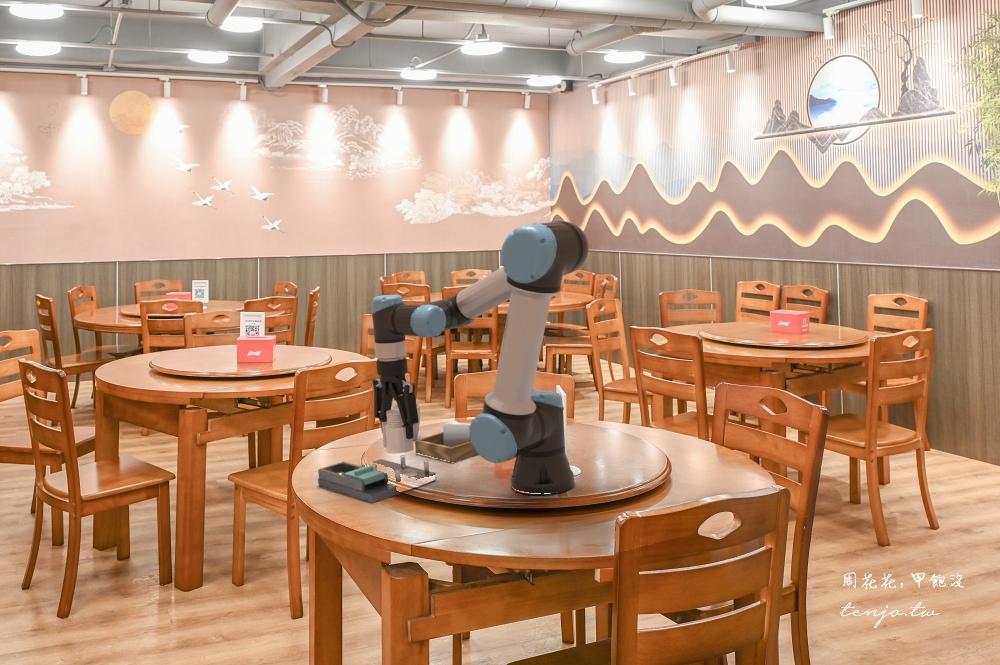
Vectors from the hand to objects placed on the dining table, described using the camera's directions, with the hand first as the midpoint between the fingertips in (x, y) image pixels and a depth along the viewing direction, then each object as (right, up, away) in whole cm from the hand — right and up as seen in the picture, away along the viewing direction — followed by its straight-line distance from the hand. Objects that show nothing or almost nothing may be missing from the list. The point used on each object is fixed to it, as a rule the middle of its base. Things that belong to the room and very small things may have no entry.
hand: (398, 448), depth 224 cm
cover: (-8, -7, -5) cm, 11 cm away
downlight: (0, 0, 0) cm, 0 cm away
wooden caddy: (+13, -4, +26) cm, 29 cm away
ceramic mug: (+13, -4, +28) cm, 31 cm away
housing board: (-5, -9, +1) cm, 11 cm away
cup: (-2, -3, +42) cm, 42 cm away
